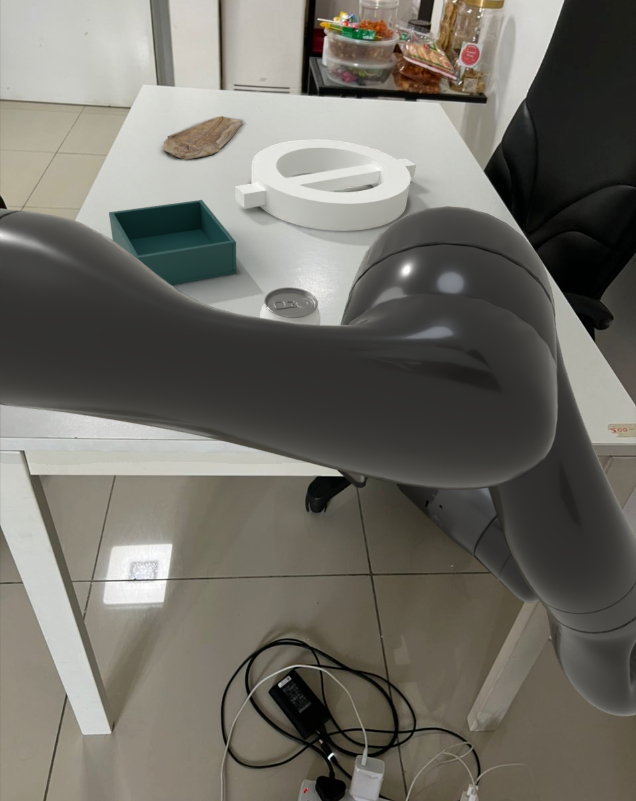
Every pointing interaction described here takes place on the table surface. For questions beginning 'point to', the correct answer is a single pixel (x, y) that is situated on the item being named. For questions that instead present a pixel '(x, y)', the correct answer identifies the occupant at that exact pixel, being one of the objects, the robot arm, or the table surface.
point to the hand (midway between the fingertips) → (346, 387)
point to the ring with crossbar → (327, 184)
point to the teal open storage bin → (176, 241)
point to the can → (291, 306)
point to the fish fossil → (202, 138)
